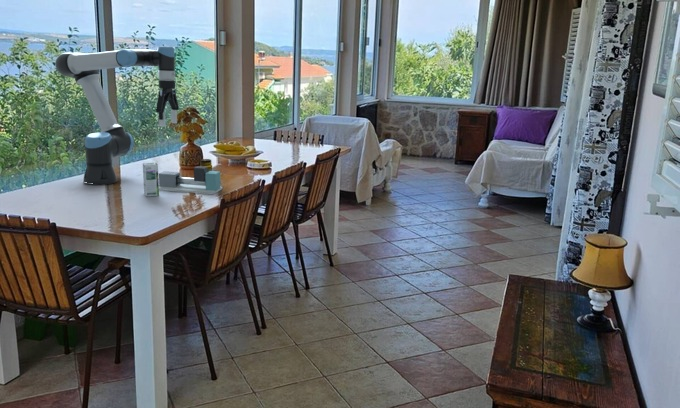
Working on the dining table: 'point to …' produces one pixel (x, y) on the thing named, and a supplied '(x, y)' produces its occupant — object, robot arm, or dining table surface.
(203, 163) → the condiment
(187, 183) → the tube
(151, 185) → the syrup box
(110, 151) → the robot arm
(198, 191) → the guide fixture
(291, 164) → the dining table surface
